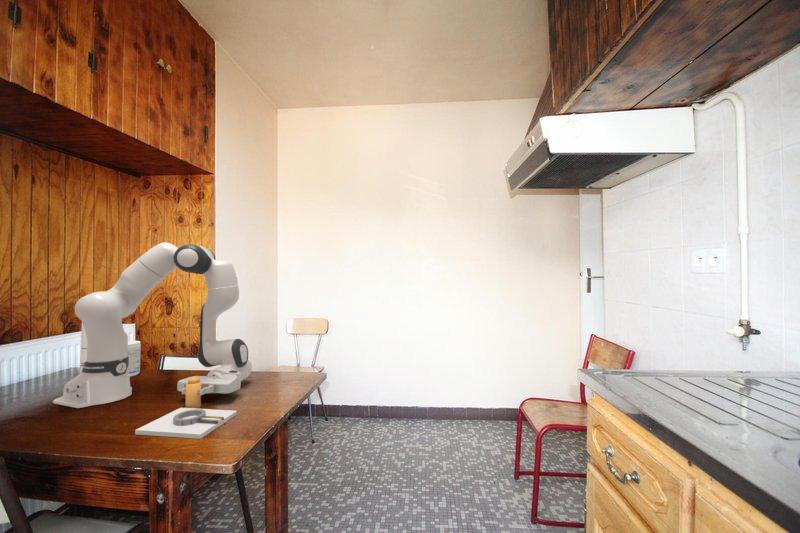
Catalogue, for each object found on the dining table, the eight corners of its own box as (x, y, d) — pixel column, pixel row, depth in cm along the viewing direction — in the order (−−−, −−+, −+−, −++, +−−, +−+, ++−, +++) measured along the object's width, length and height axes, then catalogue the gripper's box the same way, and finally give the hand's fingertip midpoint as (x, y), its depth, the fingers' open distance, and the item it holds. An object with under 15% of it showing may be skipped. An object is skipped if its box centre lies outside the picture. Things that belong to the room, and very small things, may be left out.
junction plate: (135, 434, 91) (135, 424, 91) (180, 411, 107) (180, 402, 107) (200, 438, 88) (200, 428, 89) (237, 414, 104) (237, 406, 104)
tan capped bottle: (182, 410, 108) (182, 379, 108) (192, 405, 112) (192, 375, 112) (194, 411, 107) (194, 380, 107) (203, 405, 111) (204, 376, 112)
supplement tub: (111, 375, 147) (113, 342, 148) (138, 371, 153) (139, 339, 154) (112, 380, 140) (114, 345, 140) (140, 375, 146) (141, 342, 147)
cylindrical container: (87, 378, 142) (90, 320, 143) (75, 377, 144) (77, 320, 145) (105, 373, 149) (107, 318, 150) (93, 372, 151) (95, 318, 152)
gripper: (194, 370, 124) (163, 381, 110) (244, 372, 121) (219, 384, 108) (194, 386, 124) (163, 400, 110) (244, 389, 121) (218, 403, 107)
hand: (191, 392), depth 109 cm, fingers closed on tan capped bottle, 4 cm apart
